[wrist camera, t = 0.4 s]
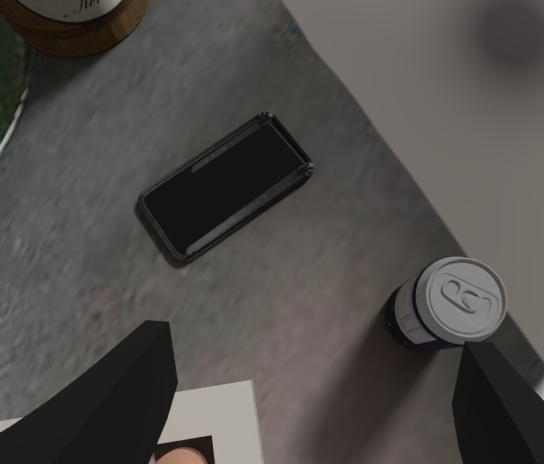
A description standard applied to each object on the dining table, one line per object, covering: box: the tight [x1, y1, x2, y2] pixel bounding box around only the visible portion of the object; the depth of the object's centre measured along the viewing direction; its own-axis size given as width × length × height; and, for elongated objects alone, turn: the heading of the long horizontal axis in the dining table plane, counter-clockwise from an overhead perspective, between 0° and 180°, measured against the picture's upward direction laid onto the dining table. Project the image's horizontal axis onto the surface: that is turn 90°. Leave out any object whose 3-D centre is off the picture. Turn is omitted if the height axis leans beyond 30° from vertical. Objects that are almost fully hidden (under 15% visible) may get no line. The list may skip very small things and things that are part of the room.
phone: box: [138, 112, 313, 262], centre depth 45 cm, size 8×1×15 cm
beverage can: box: [385, 256, 507, 352], centre depth 35 cm, size 6×6×12 cm
